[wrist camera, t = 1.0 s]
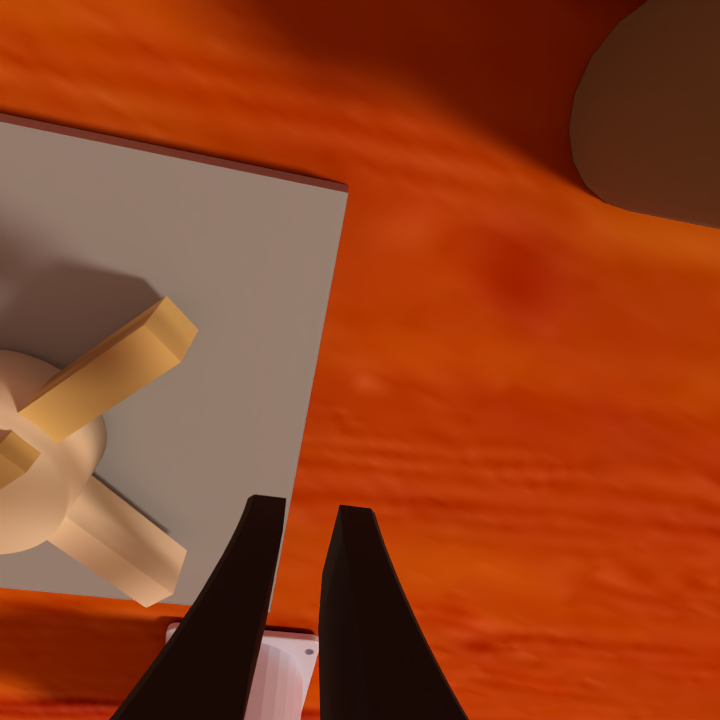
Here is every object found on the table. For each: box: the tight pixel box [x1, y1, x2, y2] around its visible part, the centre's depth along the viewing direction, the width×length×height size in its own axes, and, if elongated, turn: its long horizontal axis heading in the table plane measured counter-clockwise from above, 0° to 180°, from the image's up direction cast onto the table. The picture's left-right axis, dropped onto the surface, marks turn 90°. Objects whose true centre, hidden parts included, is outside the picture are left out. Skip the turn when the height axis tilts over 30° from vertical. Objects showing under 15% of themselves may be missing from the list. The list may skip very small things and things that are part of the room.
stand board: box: [0, 113, 348, 613], centre depth 19 cm, size 20×20×2 cm
